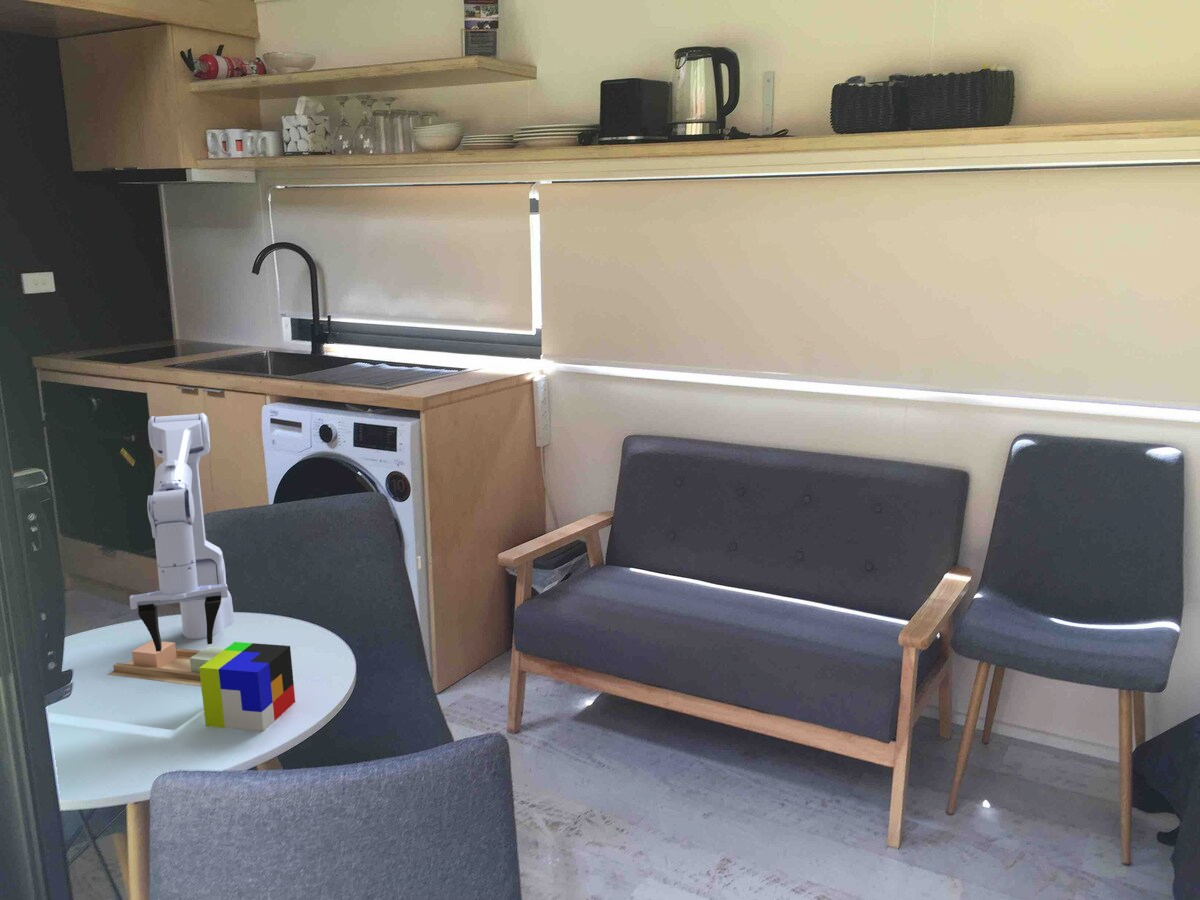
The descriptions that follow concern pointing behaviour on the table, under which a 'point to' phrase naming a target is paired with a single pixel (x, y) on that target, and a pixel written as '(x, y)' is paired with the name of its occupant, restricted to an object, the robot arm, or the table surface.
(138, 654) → the peach pink cube
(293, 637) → the table surface
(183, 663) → the oak channel board
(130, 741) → the table surface
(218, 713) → the puzzle toy
